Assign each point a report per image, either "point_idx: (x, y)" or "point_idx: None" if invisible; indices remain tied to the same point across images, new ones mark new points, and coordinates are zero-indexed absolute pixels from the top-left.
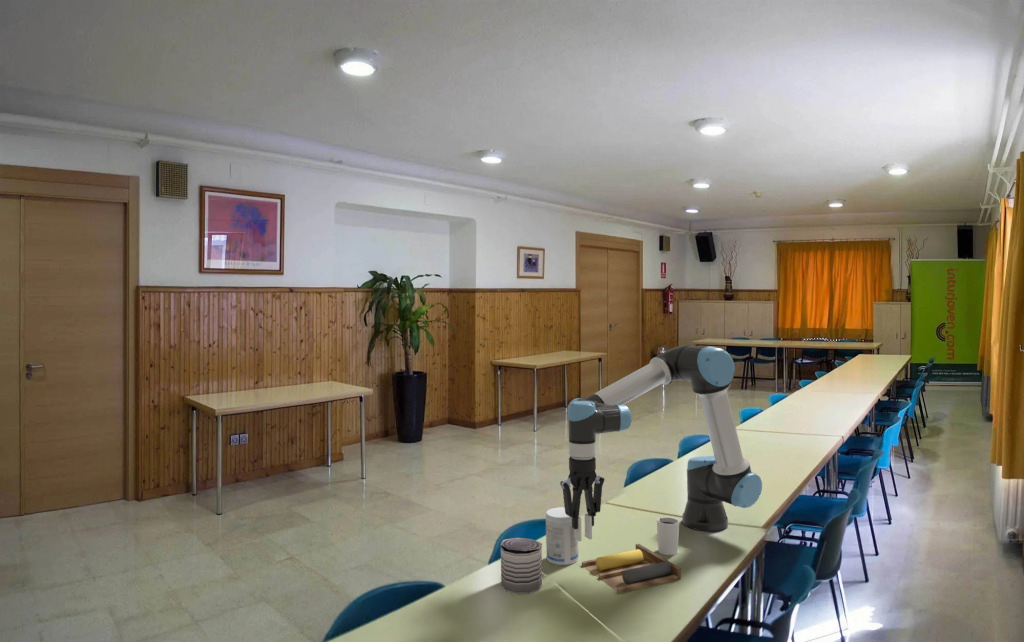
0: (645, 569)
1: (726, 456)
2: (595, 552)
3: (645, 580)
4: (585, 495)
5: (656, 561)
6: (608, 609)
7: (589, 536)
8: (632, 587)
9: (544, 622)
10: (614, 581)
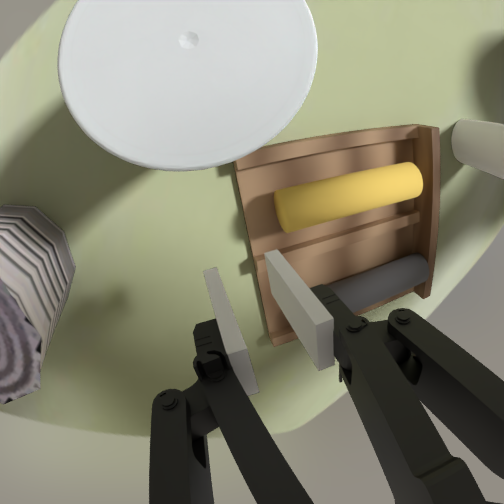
0: (370, 305)
1: None
2: (317, 55)
3: None
4: (394, 447)
5: (422, 222)
6: None
7: (276, 300)
8: None
9: (90, 410)
10: None
